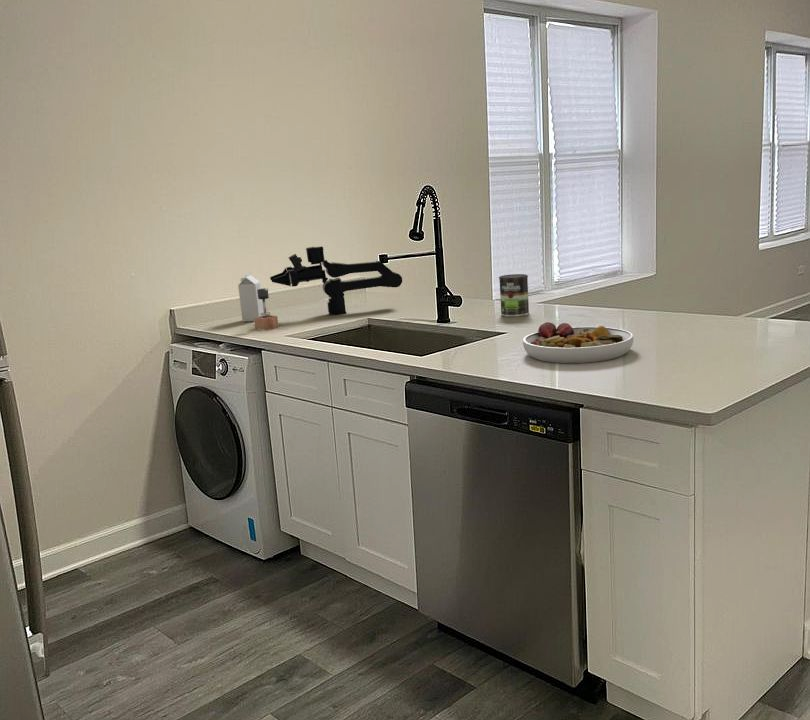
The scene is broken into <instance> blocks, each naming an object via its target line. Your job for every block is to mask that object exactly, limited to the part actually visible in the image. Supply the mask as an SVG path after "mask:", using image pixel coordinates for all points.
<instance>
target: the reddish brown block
mask: <svg viewBox="0 0 810 720" xmlns="http://www.w3.org/2000/svg"><path fill="white" fill-rule="evenodd" d="M278 318H279V317H278V315H272V314H270V315H264V316H259V317H254V321H253V322H254V328H255V329H257V328H258V329H257V330H263V329H265V330H269V328H270V329H274V327H275V328H278V327H279V320H278Z"/></svg>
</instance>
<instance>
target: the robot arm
mask: <svg viewBox="0 0 810 720" xmlns="http://www.w3.org/2000/svg"><path fill="white" fill-rule="evenodd" d="M305 250H306V258H307V262H308V263H310V265H311V266H305V265H302V262H303V260H302V257H300V256H298V255H297V254H296V253H295V254H294V253H293V254H292V255H291V256H289V257H287V258H288V260H289V261H290V262H291V264H292V266H293V267H292V266H287V267H284V270H283V271H282V272H280V273H277V274H274V275H272V276H269V279H270V280H271V282H272V283H274V284H279V285H283V286H287V287H288V286H289V287H297V286H298V285H299V284H300V283H305V282H306V283H308V282H311V281H318V280H321V282H322V284H323V285H322V291H323V293H325V295H327V296H328V299H327V302H326V303H327V312H328V314H329V315H330V316H332V314H334V315H341V314H340V313H344V314H347V311H346V302H345V292H348V291H349V292H350V291H357V290H362V289H370V288H378V287H383V288H384V287H385V288H399V287H401V285H402V283H403V276H402V275H401V274H399V273H397V272H396V271H395V272H394V271H392V270H391V269H390V268H389V267H388V266H386V265H385V264H384V263H383V262H382V263H380V262H381V261H380V260H376V261H369V262H366V261H365V262H356V263H354V262H353V263H344V262H329V261H328V260H327V259H325V254H324V246H322V245H321V246H311V247H310V246H309V247H306V248H305ZM379 261H380V262H379ZM323 267H324V268H325V269H323ZM367 272H368V273H371V272H377V273H378V274H380V275H378V276H376V277H375V276H374V277H370V278H367V277H366V278H361V279H360V278H359V279H353V280H346V281H345V280H342V279H341V278H340V277H344V276H346V275H350V274H358V273H359V274H360V273H367ZM327 275H328V276H329V277H330V278H329V277H327Z"/></svg>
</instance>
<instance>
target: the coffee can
mask: <svg viewBox="0 0 810 720" xmlns="http://www.w3.org/2000/svg"><path fill="white" fill-rule="evenodd" d="M528 277H529V274H525V273H524V274H523V273H520V274H519V273H516V274H515V273H514V274H504V275H499V277H498V280H499V294H500V298H499V299H500V315H501V316H502V317H507V318H512V317H513V318H515V317H516V318H517V317H524V315H525V316H529V315H530V308H529V307H530V306H529V300H530V299H529V281H528Z"/></svg>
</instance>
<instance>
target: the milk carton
mask: <svg viewBox="0 0 810 720" xmlns="http://www.w3.org/2000/svg"><path fill="white" fill-rule="evenodd" d="M237 289H238V296H239V303H240V304H239V305H240V311H241V321H242V323H243V322H246V321H247V322H254V317H259V316H262V315H260V313H264V310H263V301H262V299H258V293H257V289H262V287H261V282H260V281H259V280H258V279H257V278H255V277H254V276H253V275H252V274H251V272H249V273H246V274H245V276H243V277H241V278H240V283H239V284H238V288H237ZM263 316H265V315H263Z"/></svg>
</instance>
